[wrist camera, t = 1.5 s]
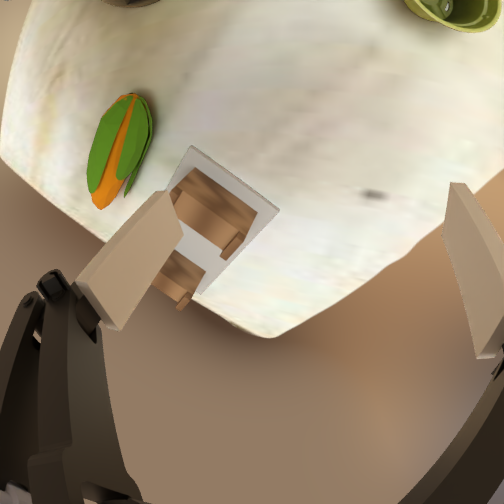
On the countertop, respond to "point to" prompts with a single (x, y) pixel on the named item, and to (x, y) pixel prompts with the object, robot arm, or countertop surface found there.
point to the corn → (118, 148)
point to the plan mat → (195, 243)
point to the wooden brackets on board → (202, 231)
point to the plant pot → (459, 13)
